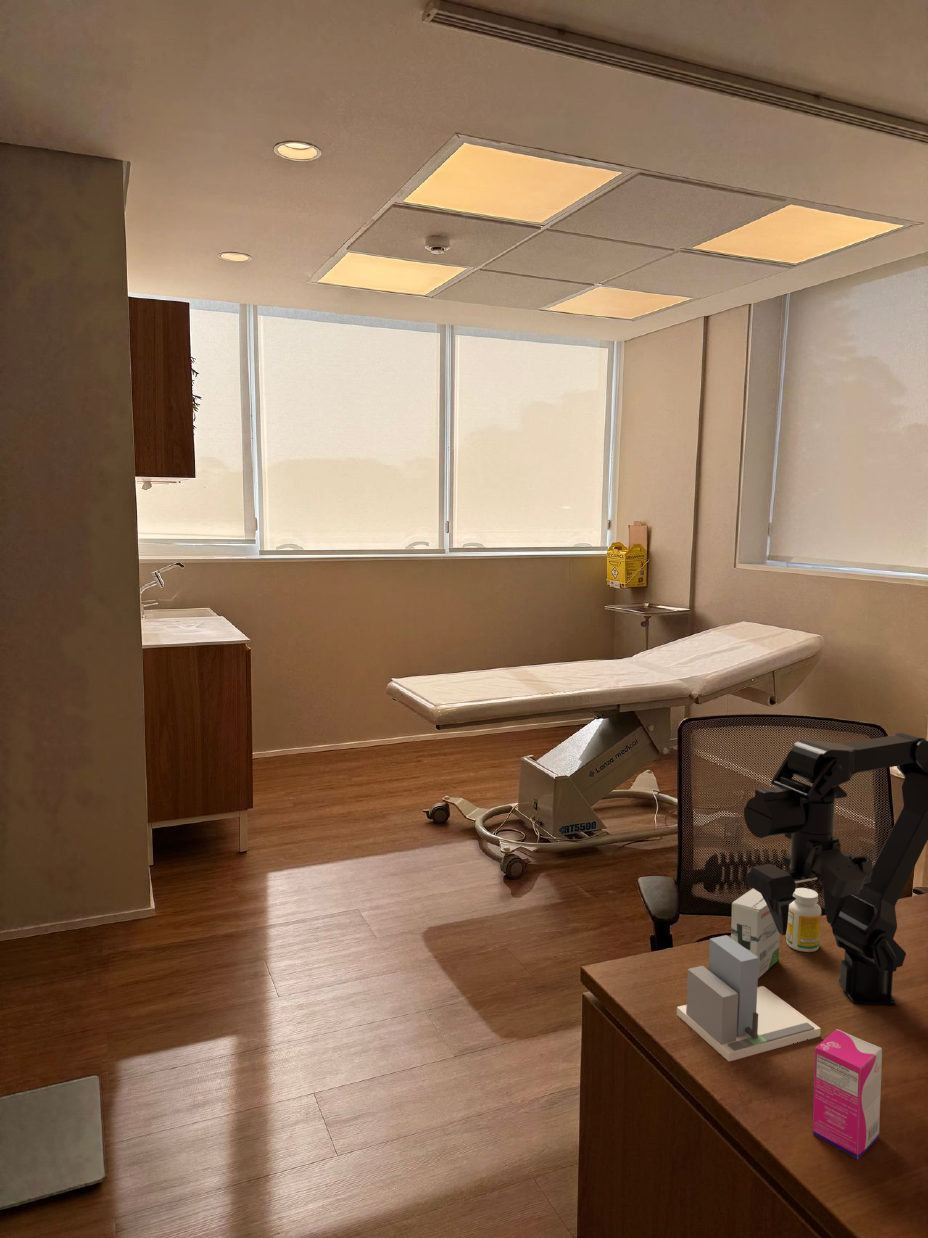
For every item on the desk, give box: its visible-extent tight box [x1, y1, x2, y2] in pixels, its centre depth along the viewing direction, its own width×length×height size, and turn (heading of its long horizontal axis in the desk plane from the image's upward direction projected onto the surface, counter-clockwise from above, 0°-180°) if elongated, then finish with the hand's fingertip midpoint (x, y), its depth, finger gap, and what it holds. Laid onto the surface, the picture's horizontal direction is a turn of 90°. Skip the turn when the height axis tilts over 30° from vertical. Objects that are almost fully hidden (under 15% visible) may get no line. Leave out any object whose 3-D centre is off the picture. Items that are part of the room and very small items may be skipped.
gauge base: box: [676, 965, 822, 1062], centre depth 126 cm, size 16×12×8 cm
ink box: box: [730, 888, 781, 979], centre depth 142 cm, size 9×5×12 cm, turn 136°
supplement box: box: [812, 1028, 883, 1160], centre depth 103 cm, size 6×6×12 cm
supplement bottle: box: [785, 887, 822, 953], centre depth 149 cm, size 5×5×10 cm
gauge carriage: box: [708, 934, 759, 1039], centre depth 123 cm, size 3×9×11 cm, turn 21°
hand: (806, 928), depth 128 cm, fingers open, 9 cm apart
